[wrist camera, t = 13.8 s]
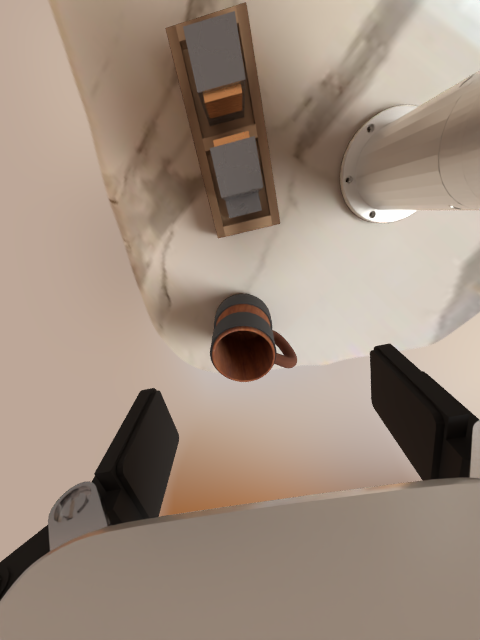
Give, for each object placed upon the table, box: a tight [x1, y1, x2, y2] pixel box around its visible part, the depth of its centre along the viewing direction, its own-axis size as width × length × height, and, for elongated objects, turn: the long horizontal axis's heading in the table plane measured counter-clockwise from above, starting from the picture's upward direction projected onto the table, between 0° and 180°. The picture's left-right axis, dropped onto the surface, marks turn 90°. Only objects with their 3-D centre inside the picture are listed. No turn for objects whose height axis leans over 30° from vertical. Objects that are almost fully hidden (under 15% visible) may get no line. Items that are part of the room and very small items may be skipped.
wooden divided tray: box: [166, 2, 280, 238], centre depth 30 cm, size 8×20×4 cm, turn 13°
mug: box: [210, 294, 297, 382], centre depth 35 cm, size 9×12×12 cm
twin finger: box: [210, 131, 263, 218], centre depth 27 cm, size 4×7×9 cm, turn 13°
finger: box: [183, 11, 246, 126], centre depth 24 cm, size 4×7×9 cm, turn 12°
